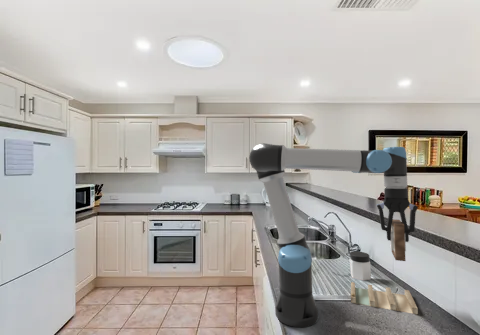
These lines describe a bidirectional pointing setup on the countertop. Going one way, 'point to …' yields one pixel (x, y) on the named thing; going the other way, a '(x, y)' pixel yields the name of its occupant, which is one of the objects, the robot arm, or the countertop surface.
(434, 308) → the countertop surface
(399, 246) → the wooden block
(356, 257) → the jar
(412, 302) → the slotted rack
